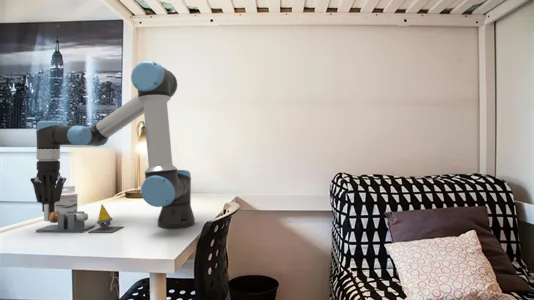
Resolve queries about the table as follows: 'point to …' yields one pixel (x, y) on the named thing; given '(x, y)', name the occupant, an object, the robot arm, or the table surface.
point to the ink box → (67, 200)
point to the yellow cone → (104, 218)
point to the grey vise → (67, 225)
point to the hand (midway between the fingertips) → (48, 220)
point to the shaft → (54, 216)
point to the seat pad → (108, 230)
